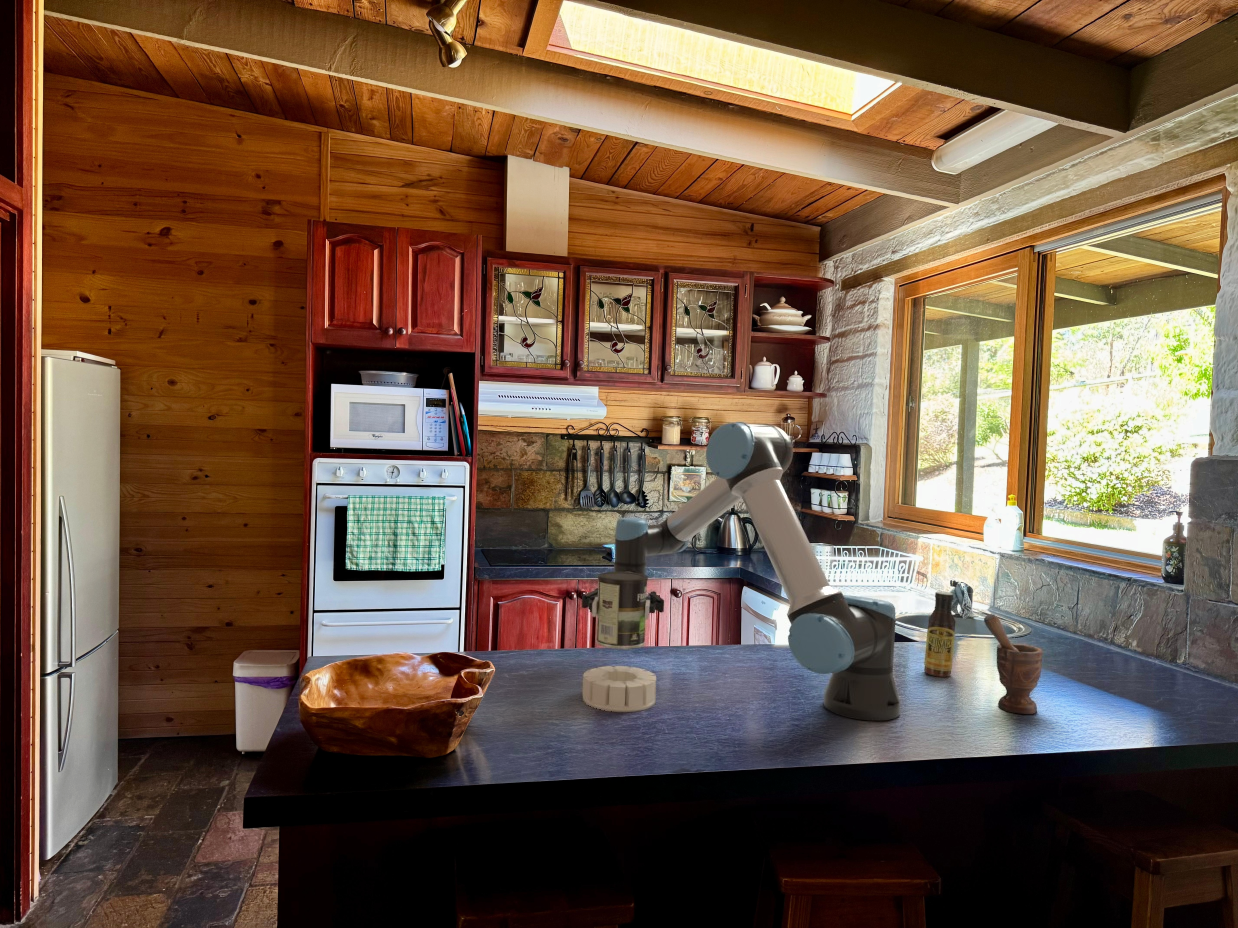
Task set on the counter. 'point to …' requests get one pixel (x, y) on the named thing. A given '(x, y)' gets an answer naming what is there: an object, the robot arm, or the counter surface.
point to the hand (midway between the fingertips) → (620, 611)
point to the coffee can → (621, 610)
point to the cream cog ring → (619, 688)
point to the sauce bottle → (940, 637)
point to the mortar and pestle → (1015, 669)
